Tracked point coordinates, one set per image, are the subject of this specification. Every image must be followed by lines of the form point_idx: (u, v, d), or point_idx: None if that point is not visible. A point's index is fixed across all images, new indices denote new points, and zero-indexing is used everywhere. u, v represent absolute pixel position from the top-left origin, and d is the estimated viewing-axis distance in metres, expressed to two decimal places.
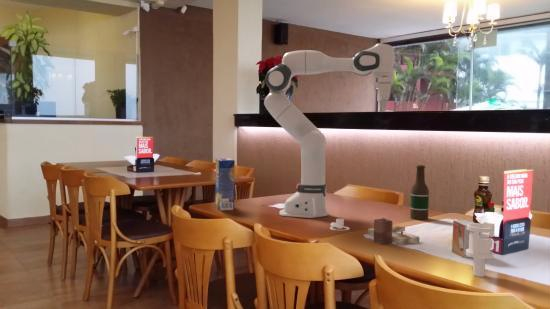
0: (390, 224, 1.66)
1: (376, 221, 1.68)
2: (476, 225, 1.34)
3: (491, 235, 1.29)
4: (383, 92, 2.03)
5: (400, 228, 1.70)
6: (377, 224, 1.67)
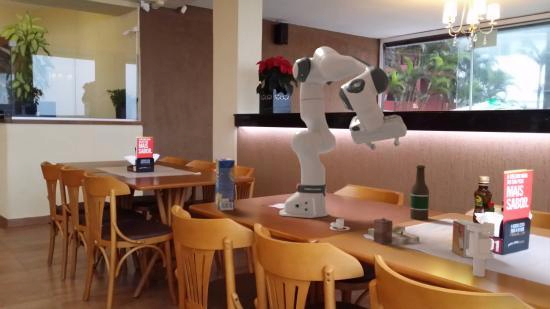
0: (390, 224, 1.66)
1: (376, 221, 1.68)
2: (476, 225, 1.34)
3: (491, 235, 1.29)
4: None
5: (400, 228, 1.70)
6: (377, 224, 1.67)
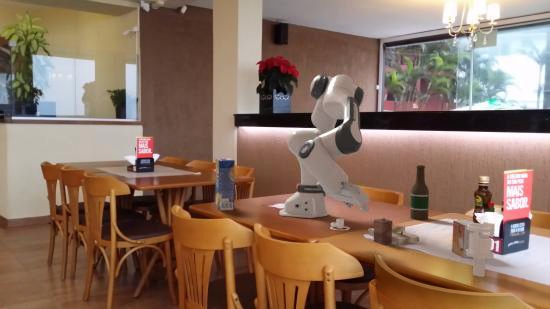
0: (390, 224, 1.66)
1: (376, 221, 1.68)
2: (476, 225, 1.34)
3: (491, 235, 1.29)
4: None
5: (400, 228, 1.70)
6: (377, 224, 1.67)
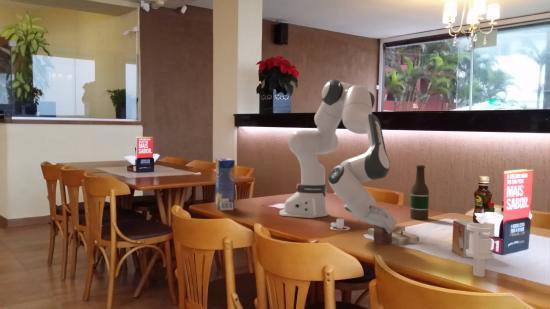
0: None
1: None
2: (476, 225, 1.34)
3: (491, 235, 1.29)
4: None
5: (400, 228, 1.70)
6: None
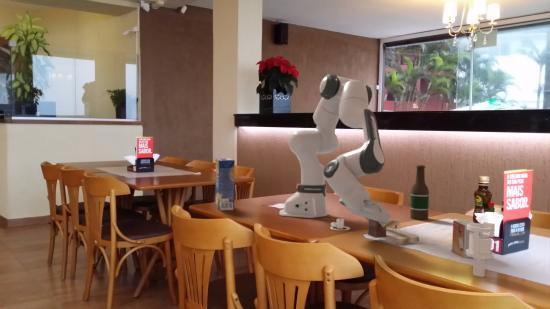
0: None
1: None
2: (476, 225, 1.34)
3: (491, 235, 1.29)
4: None
5: (394, 222, 1.73)
6: None
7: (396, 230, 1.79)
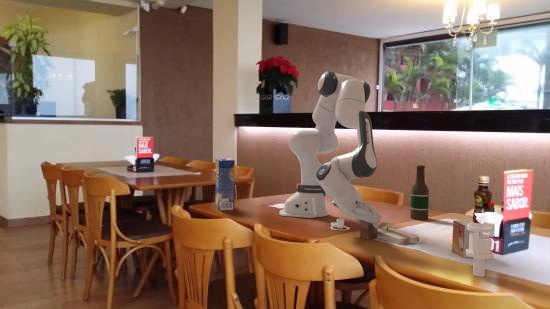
0: None
1: None
2: (476, 225, 1.34)
3: (491, 235, 1.29)
4: None
5: (386, 224, 1.78)
6: None
7: (396, 230, 1.79)
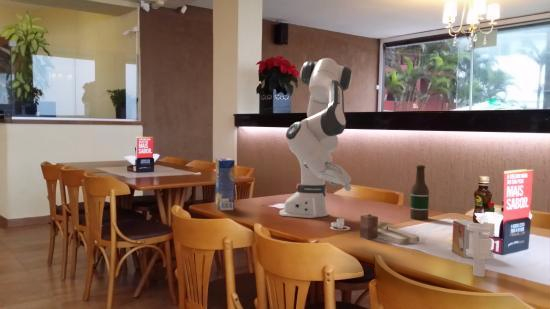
0: (376, 220, 1.74)
1: (362, 217, 1.75)
2: (476, 225, 1.34)
3: (491, 235, 1.29)
4: None
5: (385, 224, 1.78)
6: (363, 220, 1.74)
7: (396, 230, 1.79)
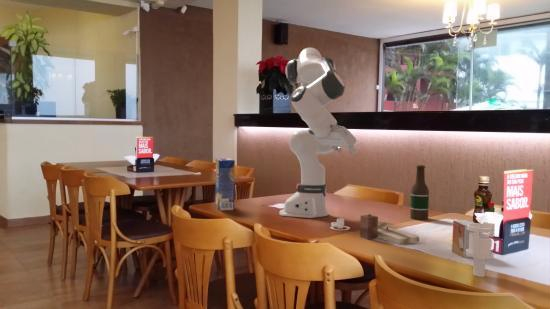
0: (376, 220, 1.74)
1: (362, 217, 1.75)
2: (476, 225, 1.34)
3: (491, 235, 1.29)
4: None
5: (385, 224, 1.78)
6: (363, 220, 1.74)
7: (396, 230, 1.79)
